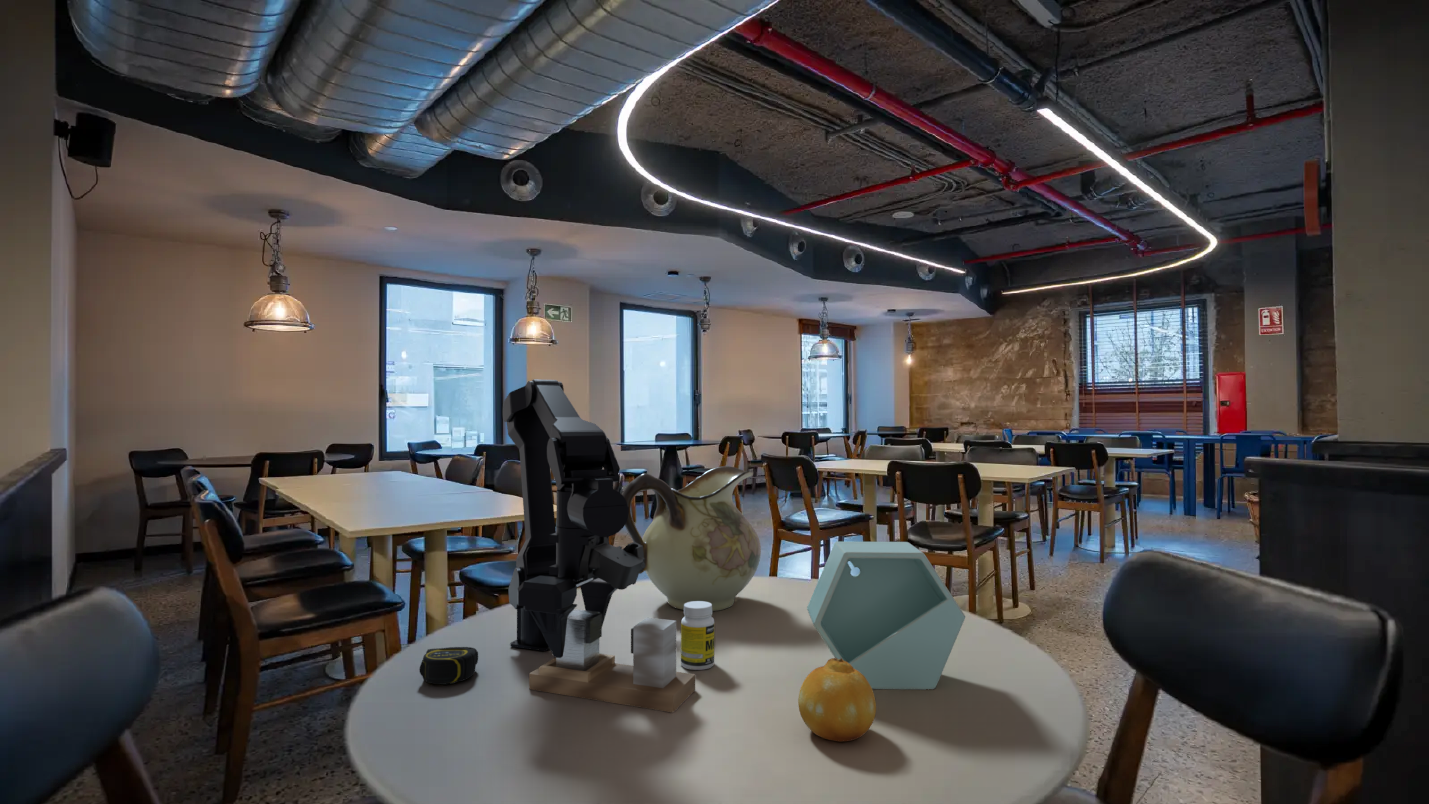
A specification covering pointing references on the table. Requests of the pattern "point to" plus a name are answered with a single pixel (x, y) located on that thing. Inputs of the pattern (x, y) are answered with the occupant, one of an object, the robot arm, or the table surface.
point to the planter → (886, 614)
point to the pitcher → (697, 539)
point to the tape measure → (448, 664)
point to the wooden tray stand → (627, 673)
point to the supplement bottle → (697, 636)
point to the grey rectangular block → (581, 640)
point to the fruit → (837, 701)
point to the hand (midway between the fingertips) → (577, 645)
